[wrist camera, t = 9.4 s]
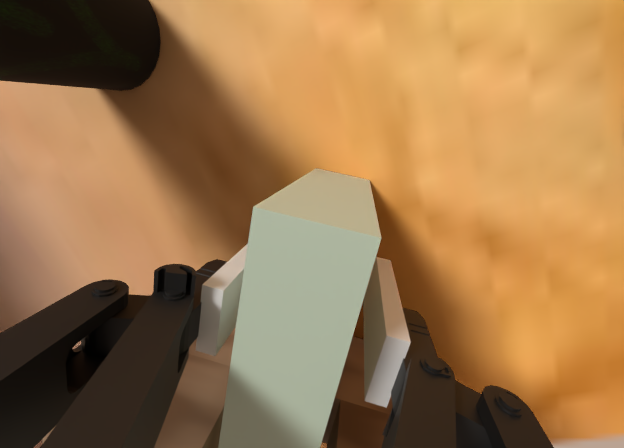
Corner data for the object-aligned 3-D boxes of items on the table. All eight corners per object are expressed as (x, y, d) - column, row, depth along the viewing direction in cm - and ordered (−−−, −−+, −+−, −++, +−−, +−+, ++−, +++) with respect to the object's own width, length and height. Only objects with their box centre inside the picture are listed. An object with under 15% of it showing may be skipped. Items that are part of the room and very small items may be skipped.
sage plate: (311, 400, 21) (269, 619, 11) (271, 388, 21) (197, 592, 12) (369, 180, 16) (381, 237, 6) (316, 168, 16) (253, 206, 7)
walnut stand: (191, 328, 21) (47, 487, 11) (194, 292, 20) (41, 430, 10) (417, 394, 19) (471, 642, 10) (431, 358, 18) (507, 592, 9)
